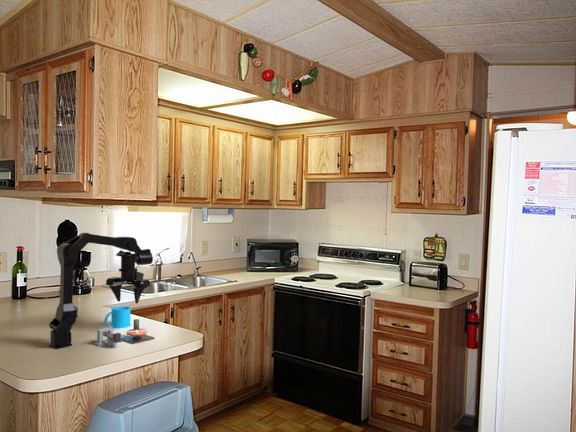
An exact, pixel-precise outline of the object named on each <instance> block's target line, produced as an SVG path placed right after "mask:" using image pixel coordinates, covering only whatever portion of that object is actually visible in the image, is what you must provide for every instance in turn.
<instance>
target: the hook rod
mask: <svg viewBox="0 0 576 432" xmlns="http://www.w3.org/2000/svg"><path fill="white" fill-rule="evenodd" d="M103 337H106V338H107V337H108V338H111V339H113V342H114V343H116V344H117V343H121V342H122V340H121V338H122V334H121V333H120V332H115V333H114V332H113V334H112V333H109V332H107V331H105V332H103Z"/></svg>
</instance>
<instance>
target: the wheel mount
mask: <svg viewBox="0 0 576 432" xmlns="http://www.w3.org/2000/svg"><path fill="white" fill-rule="evenodd" d="M151 340H152V341H153V340H155V337H154V336H151V335H148V334H144V335H140V336H129V335H126V336H121V342H125V343H128V344H132V345H135V344H139V343H143V342H144V343H145V342H147V341H151Z"/></svg>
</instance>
